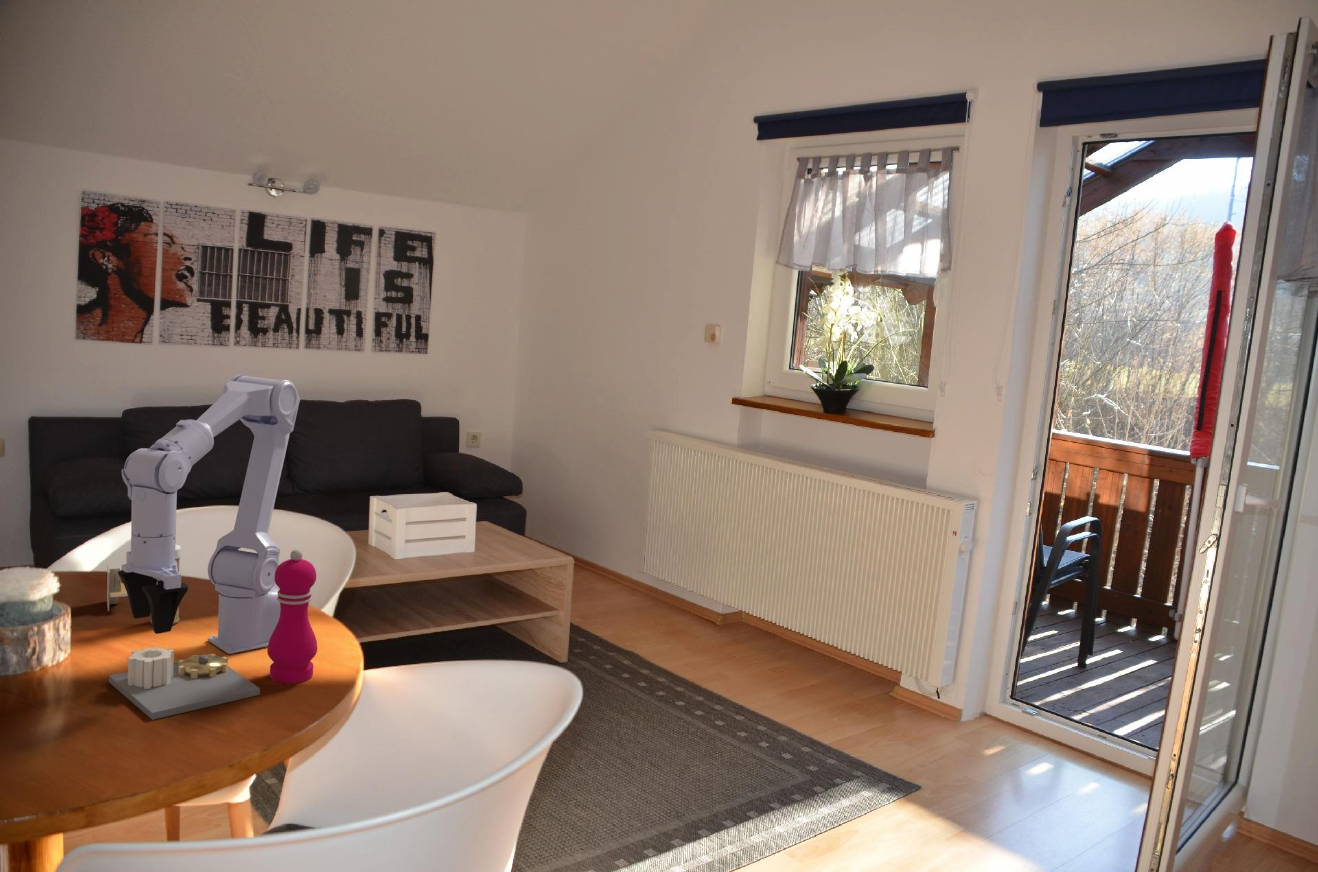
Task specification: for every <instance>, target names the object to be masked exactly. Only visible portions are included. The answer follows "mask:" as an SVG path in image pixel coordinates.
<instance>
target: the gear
mask: <svg viewBox="0 0 1318 872" xmlns="http://www.w3.org/2000/svg"><path fill="white" fill-rule="evenodd" d="M174 656H175V651H174V649H172V648H170V649H166V648H162V647H158V646H152V647H150V648H149V647H148V648H144V649H140V650H137V649H135V650H132V651H131V655H130V656H129V657H128V658H127V659H128V660H127V666H128V667H127V672H128V685H129V686H132V685H135V686H138V687H144V689H150V688H151V687H152V686H153V687H156V686H161V685H168V684H170V683H171V677H173V667H174V663H175V661H174V658H175V657H174Z"/></svg>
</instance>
